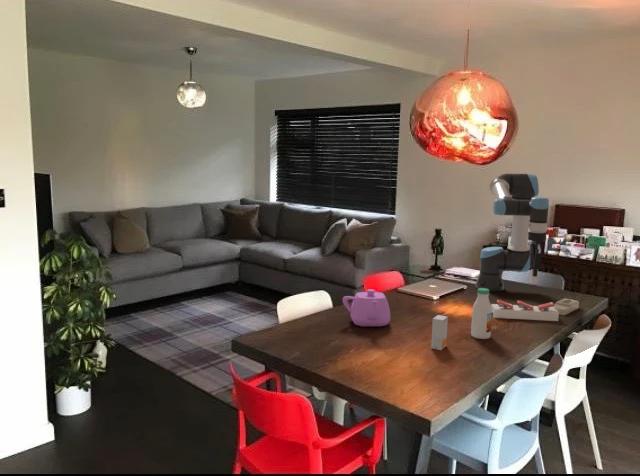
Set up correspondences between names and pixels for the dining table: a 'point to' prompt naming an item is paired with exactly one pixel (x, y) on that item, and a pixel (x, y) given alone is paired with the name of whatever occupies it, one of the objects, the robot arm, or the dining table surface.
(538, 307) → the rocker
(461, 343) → the dining table surface
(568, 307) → the electrical outlet
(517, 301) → the rocker
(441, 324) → the skincare box
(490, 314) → the milk bottle
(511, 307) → the rocker
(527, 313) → the power strip
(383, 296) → the teapot
